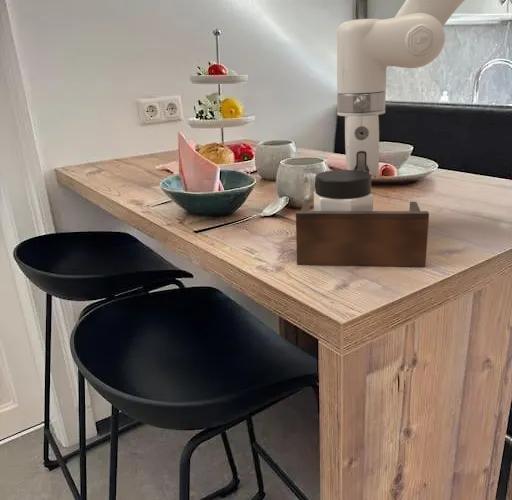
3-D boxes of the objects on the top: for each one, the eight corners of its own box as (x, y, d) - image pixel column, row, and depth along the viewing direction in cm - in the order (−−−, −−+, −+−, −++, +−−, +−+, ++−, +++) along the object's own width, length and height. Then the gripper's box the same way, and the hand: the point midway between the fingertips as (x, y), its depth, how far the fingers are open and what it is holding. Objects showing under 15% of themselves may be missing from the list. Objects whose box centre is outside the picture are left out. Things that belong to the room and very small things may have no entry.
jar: (343, 239, 83) (344, 167, 78) (382, 251, 76) (385, 174, 72) (302, 252, 78) (301, 175, 74) (339, 266, 71) (340, 184, 67)
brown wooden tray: (296, 264, 73) (295, 213, 70) (304, 236, 85) (303, 191, 82) (425, 267, 70) (429, 213, 67) (414, 237, 82) (417, 190, 79)
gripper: (389, 107, 72) (385, 228, 78) (382, 100, 86) (379, 203, 92) (336, 109, 73) (337, 229, 80) (337, 102, 87) (338, 204, 93)
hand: (359, 215), depth 86 cm, fingers closed
